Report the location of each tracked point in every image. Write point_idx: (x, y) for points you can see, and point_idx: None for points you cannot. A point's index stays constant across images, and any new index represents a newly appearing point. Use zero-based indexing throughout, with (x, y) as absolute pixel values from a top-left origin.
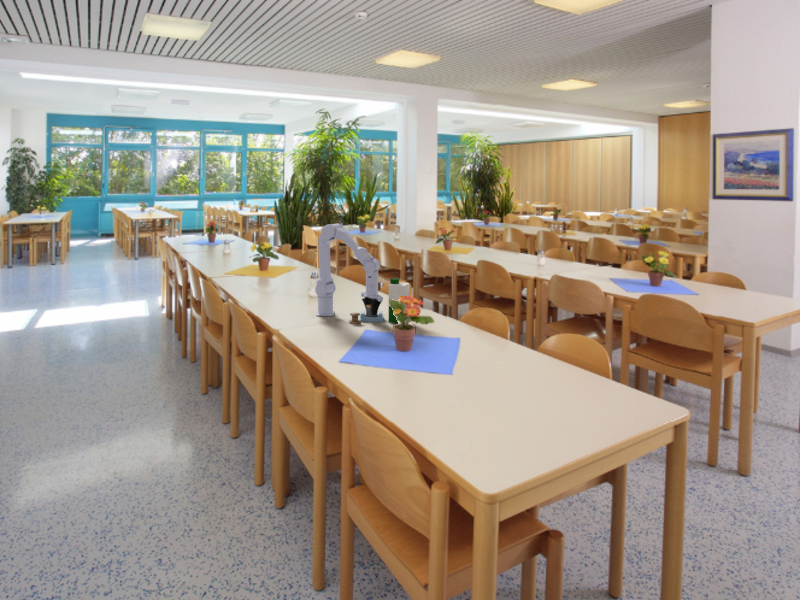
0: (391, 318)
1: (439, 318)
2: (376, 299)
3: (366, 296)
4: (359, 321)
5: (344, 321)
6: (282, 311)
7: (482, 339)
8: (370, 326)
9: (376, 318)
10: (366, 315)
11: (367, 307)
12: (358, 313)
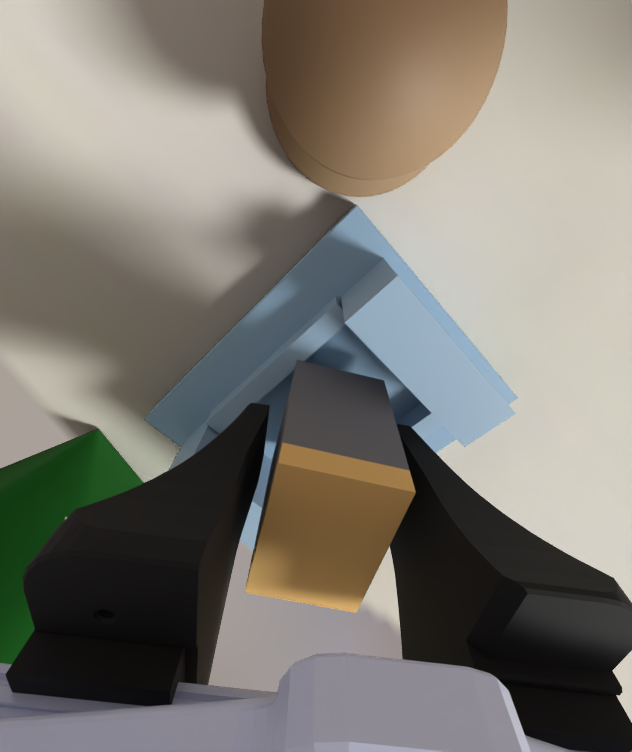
0: (32, 466)
1: None
2: (44, 693)
3: (285, 706)
4: (280, 121)
5: (560, 4)
6: None
7: None
8: (21, 106)
9: (223, 401)
10: (376, 382)
11: (362, 452)
12: (336, 138)
